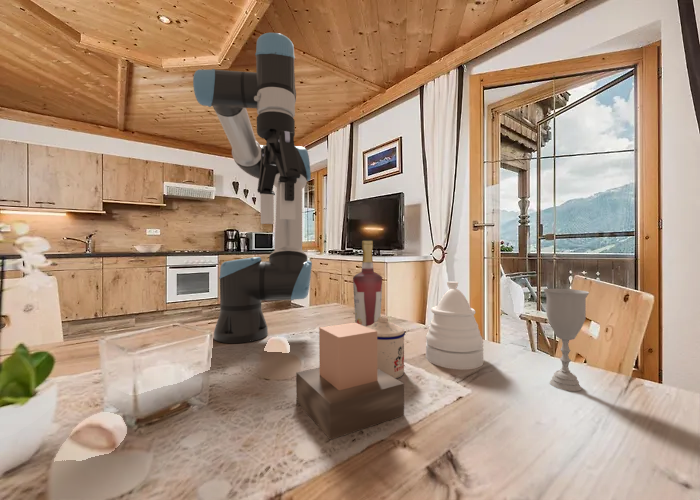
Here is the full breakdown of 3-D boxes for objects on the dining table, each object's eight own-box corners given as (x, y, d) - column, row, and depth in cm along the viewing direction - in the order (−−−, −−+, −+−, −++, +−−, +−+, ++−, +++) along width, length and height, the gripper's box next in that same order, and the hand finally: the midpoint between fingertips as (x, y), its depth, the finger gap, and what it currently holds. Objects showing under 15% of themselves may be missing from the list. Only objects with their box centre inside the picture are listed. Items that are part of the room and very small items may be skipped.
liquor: (385, 357, 78) (385, 240, 78) (355, 358, 77) (354, 240, 77) (379, 347, 86) (378, 241, 85) (351, 349, 85) (350, 241, 84)
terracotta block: (319, 374, 55) (319, 327, 55) (355, 366, 59) (354, 322, 59) (339, 390, 49) (338, 337, 49) (377, 380, 53) (377, 331, 53)
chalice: (539, 385, 62) (539, 291, 62) (547, 374, 67) (547, 287, 67) (586, 397, 57) (586, 294, 57) (591, 385, 62) (591, 290, 62)
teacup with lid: (404, 382, 64) (404, 323, 64) (358, 379, 66) (358, 321, 66) (406, 361, 75) (406, 311, 75) (367, 358, 77) (367, 309, 77)
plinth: (296, 401, 56) (296, 372, 56) (360, 384, 63) (360, 359, 63) (330, 439, 45) (330, 403, 45) (404, 415, 52) (403, 383, 52)
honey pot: (424, 349, 84) (424, 279, 84) (476, 351, 82) (476, 280, 82) (428, 367, 72) (427, 285, 71) (489, 371, 70) (489, 286, 69)
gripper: (243, 132, 75) (244, 224, 76) (276, 86, 54) (277, 215, 54) (275, 137, 79) (276, 225, 79) (318, 96, 57) (319, 217, 58)
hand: (276, 221), depth 67 cm, fingers open, 13 cm apart
